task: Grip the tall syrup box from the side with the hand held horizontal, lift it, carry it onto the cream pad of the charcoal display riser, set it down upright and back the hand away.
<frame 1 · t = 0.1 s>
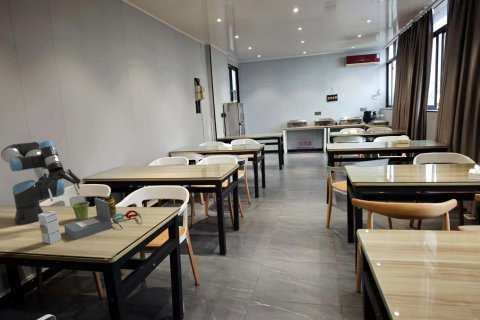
hand: (65, 197, 172), 15 cm above the table, tool tilted 35°, fingers open, 13 cm apart
novelty glasses: (128, 223, 169), on the table
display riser: (88, 230, 162), on the table
syrup box: (52, 241, 150), on the table
plant pot: (82, 218, 182), on the table
condiment: (109, 217, 181), on the table
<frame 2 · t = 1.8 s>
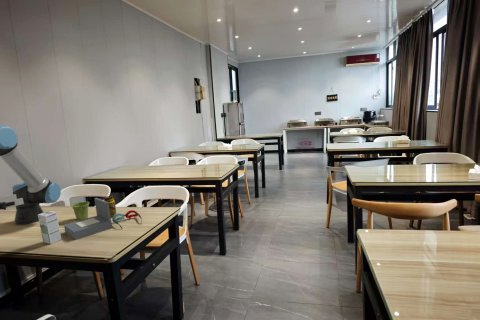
hand: (19, 198, 145), 23 cm above the table, tool horizontal, fingers open, 13 cm apart
nothing on the table moved.
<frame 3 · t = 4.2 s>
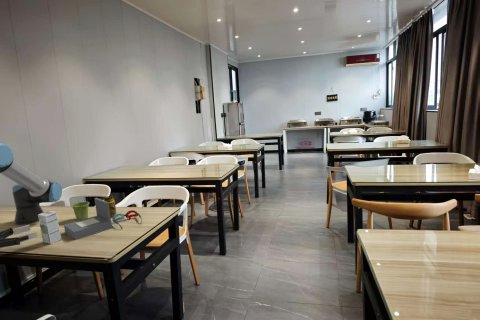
hand: (33, 230, 144), 8 cm above the table, tool horizontal, fingers open, 13 cm apart
nothing on the table moved.
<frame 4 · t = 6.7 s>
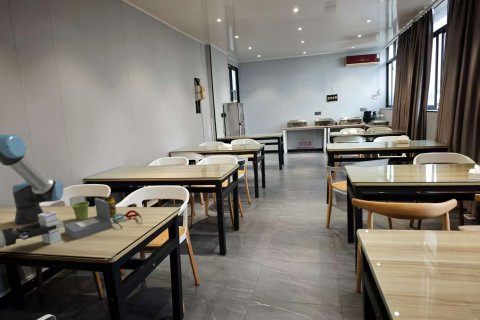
hand: (60, 222, 152), 8 cm above the table, tool horizontal, fingers closed on syrup box, 7 cm apart
syrup box: (52, 241, 150), on the table, touching gripper
everything else where it was.
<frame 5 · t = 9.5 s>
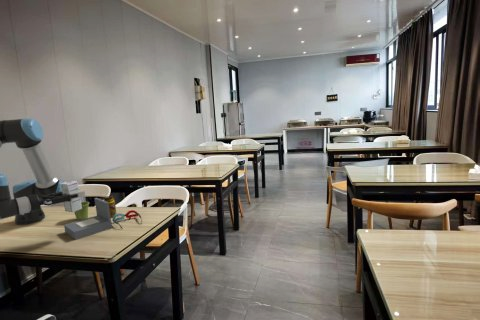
hand: (81, 192, 157), 21 cm above the table, tool horizontal, fingers closed on syrup box, 7 cm apart
syrup box: (73, 210, 155), point 13 cm above the table, touching gripper
everything else where it was.
when the fingers open (13 cm above the table, at t = 12.2 s): syrup box drops 1 cm, resting on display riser.
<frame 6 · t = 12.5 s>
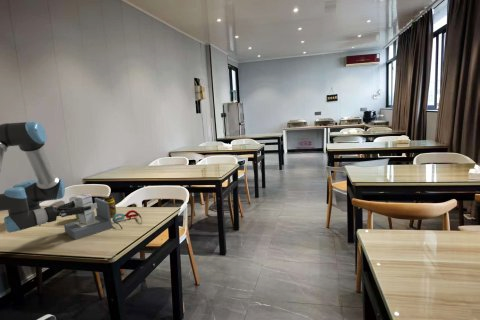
hand: (92, 203, 162), 13 cm above the table, tool horizontal, fingers open, 11 cm apart
syrup box: (87, 222, 161), point 4 cm above the table, touching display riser
everything else where it was.
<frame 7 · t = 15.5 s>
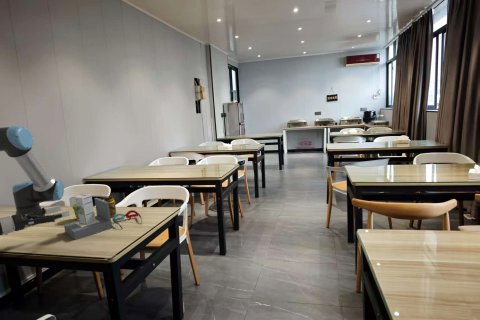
hand: (64, 210, 153), 14 cm above the table, tool horizontal, fingers open, 13 cm apart
nothing on the table moved.
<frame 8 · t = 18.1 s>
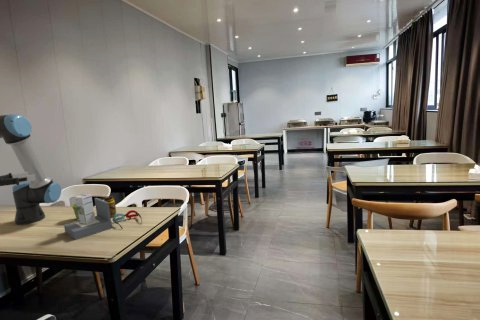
hand: (31, 175, 151), 32 cm above the table, tool horizontal, fingers open, 13 cm apart
nothing on the table moved.
at the end: syrup box inside the target area on the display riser (0.1 cm from its centre), point 4.1 cm above the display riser's base; syrup box tilted 0°; the gripper is holding nothing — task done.
